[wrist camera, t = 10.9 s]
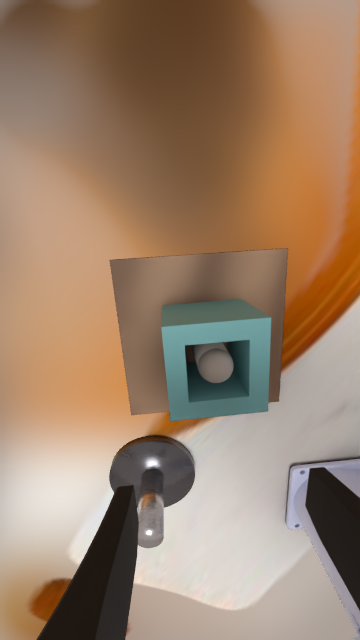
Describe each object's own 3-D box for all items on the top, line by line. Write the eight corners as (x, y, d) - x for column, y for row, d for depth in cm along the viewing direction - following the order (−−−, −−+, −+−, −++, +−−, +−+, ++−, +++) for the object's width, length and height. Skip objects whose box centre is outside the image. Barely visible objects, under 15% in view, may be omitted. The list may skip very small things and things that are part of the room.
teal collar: (241, 299, 17) (271, 317, 12) (241, 369, 18) (267, 411, 14) (162, 305, 17) (161, 327, 12) (169, 376, 18) (170, 421, 13)
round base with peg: (191, 431, 21) (200, 491, 16) (195, 496, 23) (204, 567, 18) (105, 440, 21) (85, 503, 16) (117, 504, 23) (103, 580, 18)
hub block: (279, 248, 17) (344, 246, 11) (272, 393, 21) (319, 454, 14) (113, 259, 17) (82, 263, 11) (133, 405, 20) (119, 474, 14)
